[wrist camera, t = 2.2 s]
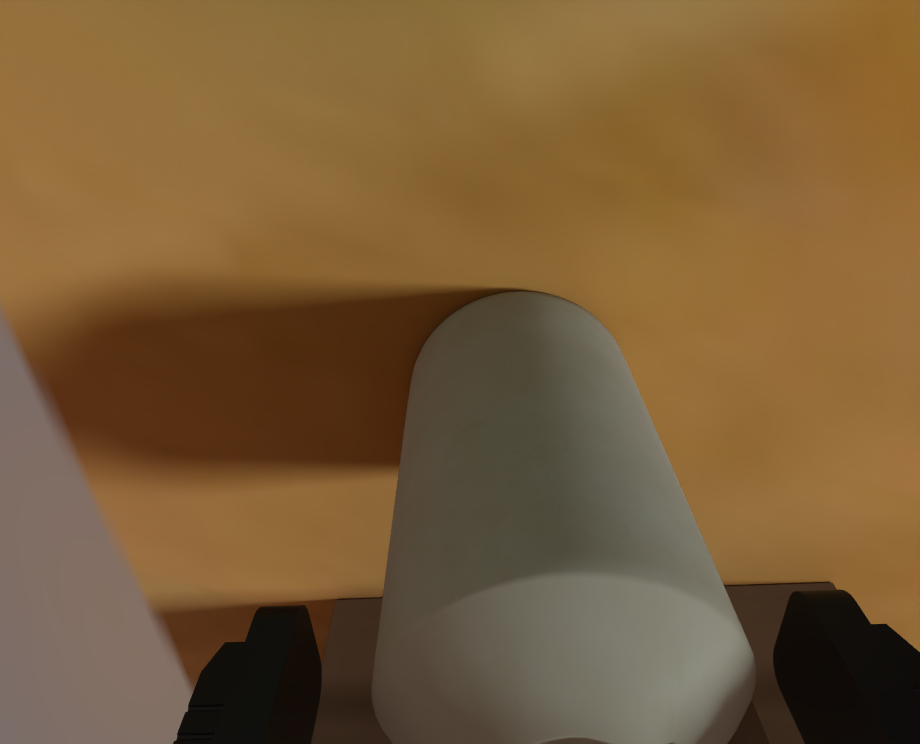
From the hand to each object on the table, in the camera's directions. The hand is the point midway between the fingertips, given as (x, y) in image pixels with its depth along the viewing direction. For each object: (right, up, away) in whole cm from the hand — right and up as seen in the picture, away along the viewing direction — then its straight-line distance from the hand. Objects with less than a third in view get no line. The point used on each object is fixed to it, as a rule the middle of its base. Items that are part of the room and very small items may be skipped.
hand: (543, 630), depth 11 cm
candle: (0, +4, +6) cm, 7 cm away
